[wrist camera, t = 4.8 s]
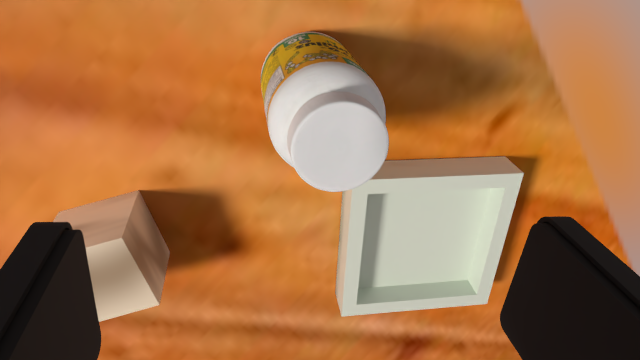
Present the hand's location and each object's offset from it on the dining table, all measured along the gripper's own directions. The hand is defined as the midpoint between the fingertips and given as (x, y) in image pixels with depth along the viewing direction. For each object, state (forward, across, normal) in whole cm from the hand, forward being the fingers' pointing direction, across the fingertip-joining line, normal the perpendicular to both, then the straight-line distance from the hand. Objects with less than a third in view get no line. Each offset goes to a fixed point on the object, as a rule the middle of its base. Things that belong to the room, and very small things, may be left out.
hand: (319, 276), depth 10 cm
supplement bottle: (+19, -2, +1) cm, 19 cm away
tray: (+19, -11, +12) cm, 24 cm away
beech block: (+19, +9, +12) cm, 24 cm away
